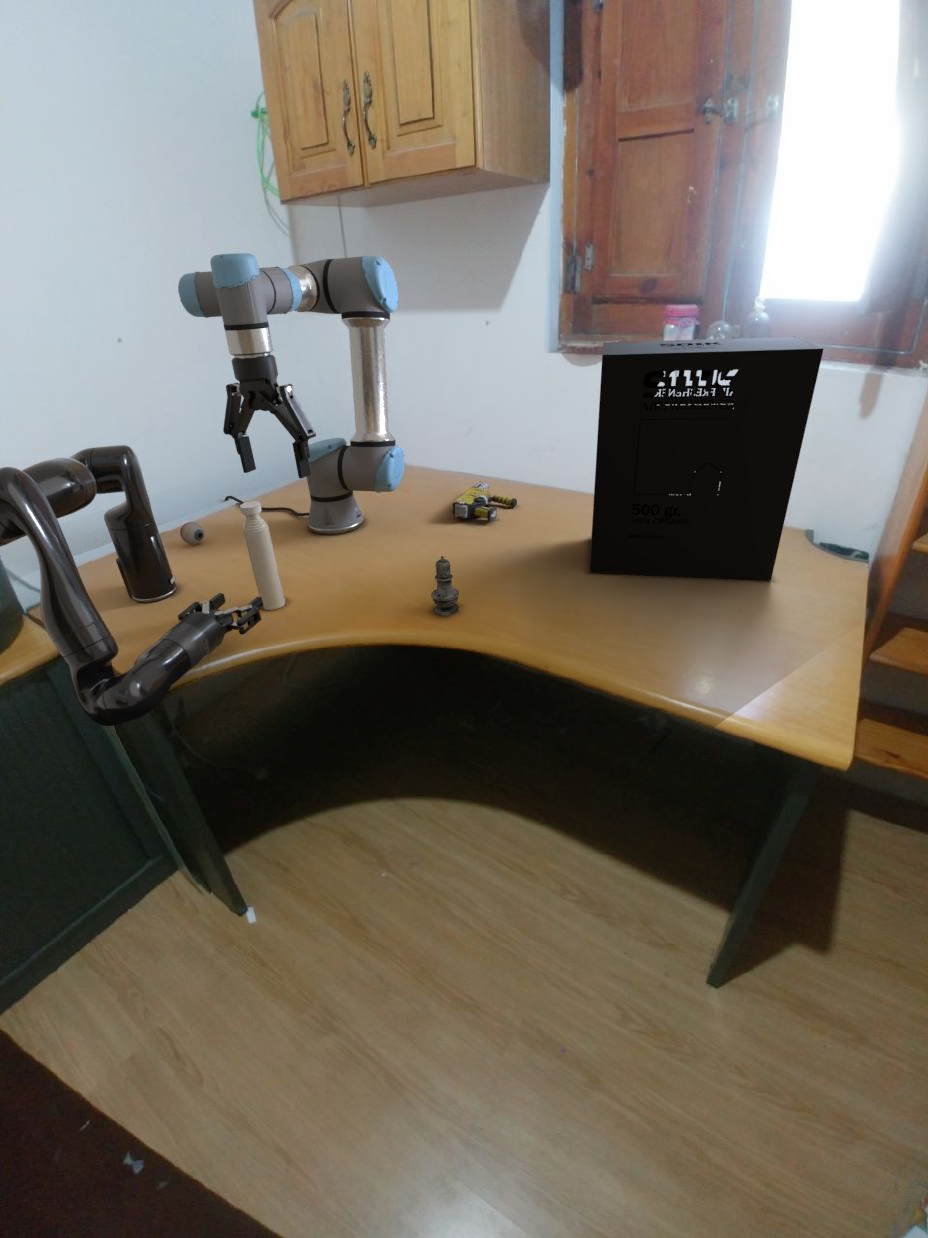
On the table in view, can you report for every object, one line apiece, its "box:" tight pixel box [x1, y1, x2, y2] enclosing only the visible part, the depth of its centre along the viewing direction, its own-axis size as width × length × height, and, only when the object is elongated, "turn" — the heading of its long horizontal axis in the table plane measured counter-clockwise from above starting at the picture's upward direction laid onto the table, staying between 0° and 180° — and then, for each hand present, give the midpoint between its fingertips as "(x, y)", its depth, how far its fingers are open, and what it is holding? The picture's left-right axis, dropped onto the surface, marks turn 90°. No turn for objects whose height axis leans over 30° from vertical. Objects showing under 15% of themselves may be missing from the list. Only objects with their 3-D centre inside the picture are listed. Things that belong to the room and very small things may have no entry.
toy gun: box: [451, 480, 518, 523], centre depth 174 cm, size 5×24×15 cm
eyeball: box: [179, 521, 206, 546], centre depth 161 cm, size 6×6×6 cm
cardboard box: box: [589, 336, 824, 581], centre depth 128 cm, size 38×20×45 cm, turn 78°
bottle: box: [242, 513, 287, 611], centre depth 124 cm, size 5×5×22 cm
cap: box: [239, 500, 263, 516], centre depth 119 cm, size 4×4×2 cm
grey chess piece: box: [430, 555, 461, 616], centre depth 121 cm, size 6×6×12 cm
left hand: (241, 598), depth 119 cm, fingers open, 8 cm apart
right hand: (276, 473), depth 117 cm, fingers open, 13 cm apart
